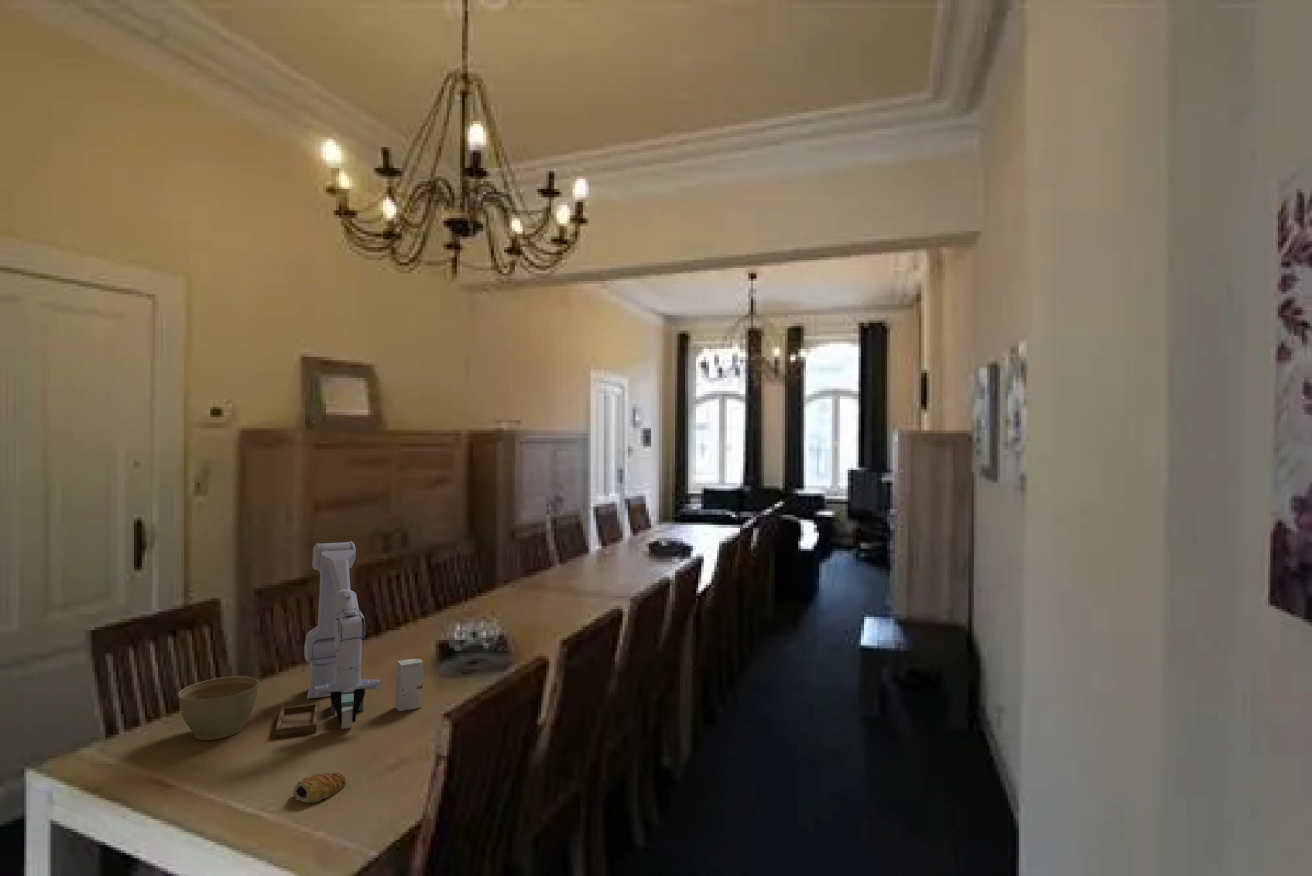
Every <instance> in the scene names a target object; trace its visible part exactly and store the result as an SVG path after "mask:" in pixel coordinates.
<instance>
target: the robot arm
mask: <svg viewBox="0 0 1312 876" xmlns="http://www.w3.org/2000/svg"><path fill="white" fill-rule="evenodd" d="M356 553H357V551H356V545H355V542H353V541H346V542H345V541H343V542H330V543H329V542H327V543H316V544H314V545H313V549H312V559H311V560H312V561H311V564H312V565H311V567H312V569H313V570H316V571H319V576H320V577H319V593H318V594H319V595H318V616H317V625H316V626H315V627H314V628H312V629H311V630H309V631H307V633H306V635H305V641H304V647H303V648H304V649H303V652H304V660H305V661H306V662H307V663H309V665H310V666H309V686H308V689H307V696H306V699H307V700H310V699H317V698H327V697H328V698H330V703H331V702H332V704H333V705H334V708H335V714H336V715H337V724H338V725H342V710H341V698H342V692H351V691H354V704H353V715H352V723H355V722H356V721H355V720H356V719H357V715H358V712H359V706H360V704H361V702H362V700H363V701H364V698H365V696H366V694H365V693H366V690H380V689H381V681H380V678H378V679H362V677H361V676H362V651H363V650H362V647H363V646H362V641H363V639H364V638H365V636H366V621H365V616H364V615H363V612H362V611H361V610H360V607H359V602H358V597H357V593H356V592H355V591H353V590H351V580H350V569H351V568H352V567H353V564H354V563H355V562H356V558H357V557H356Z"/></svg>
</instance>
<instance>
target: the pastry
mask: <svg viewBox="0 0 1312 876" xmlns="http://www.w3.org/2000/svg"><path fill="white" fill-rule="evenodd" d="M346 784H347V779H346V776H345V775H343V773H340V772H336V771H335V772H332V773H329V772H327V773H326V772H325V773H320V774H319V773H315V774H312V775H311V776H309V777H307V776H306V777H303V778H302V780H300V781H298V782H297V783H296V785H295V787H294V789H293V790H292V795H293V797H294V798H295V797H296V799H295V800H297V799H298V800H297V801H299V800H300V802H302V803H304V804H315V802H316V803H319V802H321V801H322V800H324V799H326V800H327V799H328V798H330V797H331V796H333V794H334V795H335V794H337V793H338V792H340V791H341V790H342V788H343V789H344V787H345V786H346ZM336 792H337V793H336ZM329 796H330V797H329Z"/></svg>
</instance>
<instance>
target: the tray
mask: <svg viewBox="0 0 1312 876" xmlns="http://www.w3.org/2000/svg"><path fill="white" fill-rule="evenodd" d="M319 714H320V703H319V702H317V703H310V704H301V705H300V704H299V705H293V706H285V707H284V706H282V707H281V708H280V711H279V715H278V719H277V723H276V727H275V736H274V738H275V739H279V738H278V737H280V738H285V737H284V736H287V737H293V736H300V735H309V734H316V733H317V731H318V730H317V729H318V720H319Z"/></svg>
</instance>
